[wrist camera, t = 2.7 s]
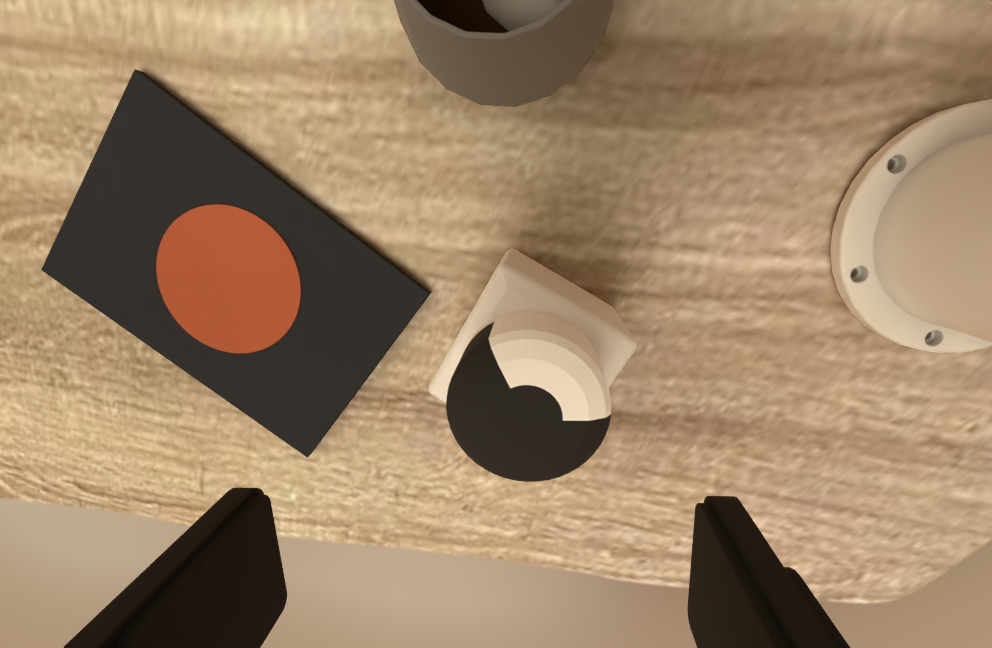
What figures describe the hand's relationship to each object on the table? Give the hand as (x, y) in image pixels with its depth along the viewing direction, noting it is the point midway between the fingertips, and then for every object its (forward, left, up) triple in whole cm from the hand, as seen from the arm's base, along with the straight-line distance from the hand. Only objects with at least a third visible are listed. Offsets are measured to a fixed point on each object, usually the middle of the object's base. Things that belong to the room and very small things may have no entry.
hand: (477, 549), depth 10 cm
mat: (+15, +8, -19) cm, 26 cm away
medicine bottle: (-1, 0, -19) cm, 19 cm away
